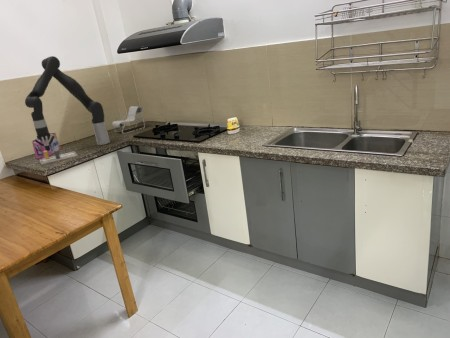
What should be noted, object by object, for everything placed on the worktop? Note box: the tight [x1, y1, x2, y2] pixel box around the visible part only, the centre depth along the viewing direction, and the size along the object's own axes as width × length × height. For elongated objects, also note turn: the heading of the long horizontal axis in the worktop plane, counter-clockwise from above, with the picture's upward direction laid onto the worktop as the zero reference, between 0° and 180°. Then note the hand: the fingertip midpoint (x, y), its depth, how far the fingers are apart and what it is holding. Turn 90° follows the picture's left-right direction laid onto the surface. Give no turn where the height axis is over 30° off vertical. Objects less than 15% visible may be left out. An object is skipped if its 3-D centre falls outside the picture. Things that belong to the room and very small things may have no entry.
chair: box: [111, 105, 146, 135], centre depth 313 cm, size 13×25×20 cm, turn 135°
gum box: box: [31, 132, 61, 160], centre depth 265 cm, size 24×8×14 cm, turn 179°
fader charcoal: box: [53, 150, 60, 159], centre depth 248 cm, size 2×4×5 cm
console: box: [39, 150, 78, 165], centre depth 252 cm, size 24×12×2 cm, turn 121°
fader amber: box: [43, 151, 50, 159], centre depth 250 cm, size 2×4×5 cm
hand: (48, 150), depth 244 cm, fingers closed
